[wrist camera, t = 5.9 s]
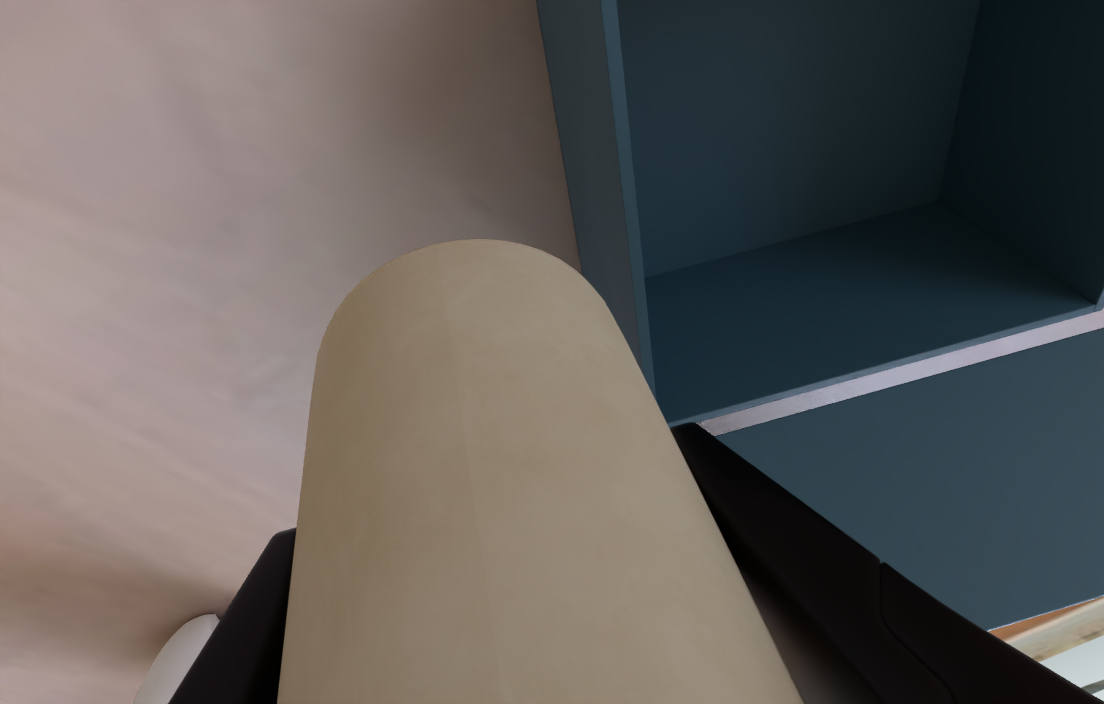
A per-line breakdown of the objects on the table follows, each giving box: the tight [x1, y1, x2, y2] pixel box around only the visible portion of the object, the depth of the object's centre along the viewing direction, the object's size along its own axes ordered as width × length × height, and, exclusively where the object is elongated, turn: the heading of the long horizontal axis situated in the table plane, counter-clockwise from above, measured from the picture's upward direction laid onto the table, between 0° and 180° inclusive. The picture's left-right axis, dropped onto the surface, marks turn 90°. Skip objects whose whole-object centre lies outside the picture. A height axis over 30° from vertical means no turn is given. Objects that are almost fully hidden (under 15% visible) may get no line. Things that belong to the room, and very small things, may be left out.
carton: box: [536, 0, 1104, 428], centre depth 18 cm, size 13×14×7 cm
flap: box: [714, 328, 1104, 631], centre depth 17 cm, size 6×14×1 cm
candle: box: [277, 239, 805, 704], centre depth 9 cm, size 6×6×10 cm
